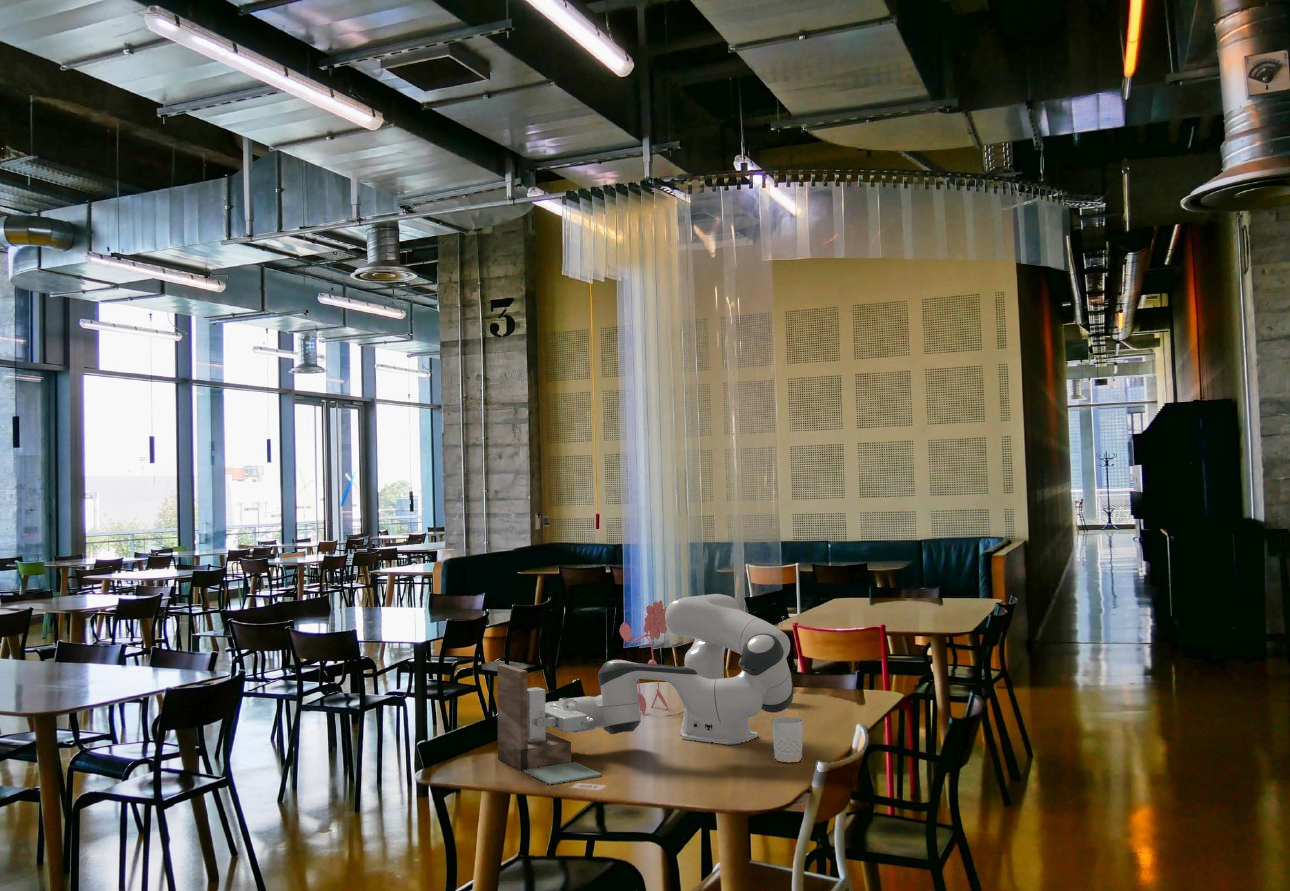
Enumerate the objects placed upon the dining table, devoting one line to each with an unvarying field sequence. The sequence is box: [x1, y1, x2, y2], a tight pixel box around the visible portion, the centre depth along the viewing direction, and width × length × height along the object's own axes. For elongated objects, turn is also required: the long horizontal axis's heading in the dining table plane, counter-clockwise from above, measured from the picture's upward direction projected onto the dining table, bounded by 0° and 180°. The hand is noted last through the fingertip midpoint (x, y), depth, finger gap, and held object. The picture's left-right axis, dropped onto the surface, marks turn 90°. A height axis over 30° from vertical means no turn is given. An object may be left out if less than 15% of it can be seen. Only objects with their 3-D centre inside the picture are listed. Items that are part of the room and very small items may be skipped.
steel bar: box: [527, 686, 547, 745], centre depth 252 cm, size 4×4×18 cm
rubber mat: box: [523, 761, 603, 786], centre depth 238 cm, size 14×14×1 cm
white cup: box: [771, 716, 804, 761], centre depth 249 cm, size 8×8×10 cm
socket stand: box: [497, 663, 572, 771], centre depth 253 cm, size 14×14×24 cm
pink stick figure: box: [619, 599, 684, 717], centre depth 312 cm, size 15×26×35 cm, turn 139°
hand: (530, 721), depth 252 cm, fingers closed on steel bar, 4 cm apart
